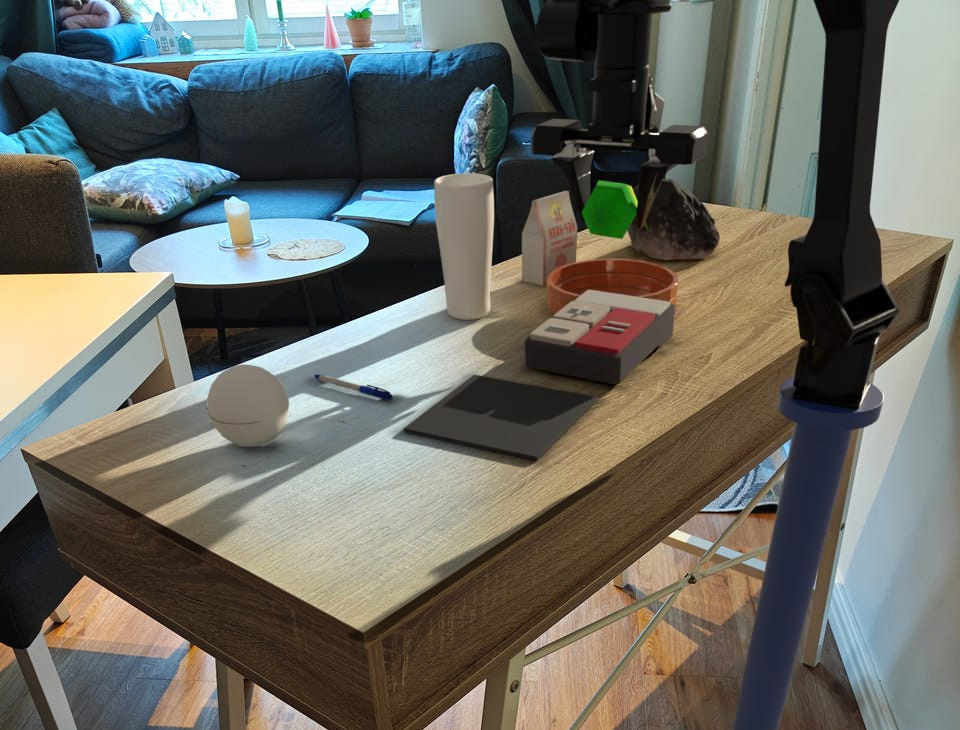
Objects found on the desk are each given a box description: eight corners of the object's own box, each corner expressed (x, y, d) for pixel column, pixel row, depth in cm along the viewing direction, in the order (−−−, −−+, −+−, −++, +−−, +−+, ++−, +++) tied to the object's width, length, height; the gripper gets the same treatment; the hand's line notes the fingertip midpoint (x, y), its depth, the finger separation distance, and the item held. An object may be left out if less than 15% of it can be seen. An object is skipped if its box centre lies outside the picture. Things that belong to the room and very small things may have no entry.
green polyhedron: (599, 172, 96) (639, 155, 101) (560, 208, 101) (601, 190, 106) (634, 230, 97) (672, 211, 103) (594, 263, 102) (632, 243, 108)
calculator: (522, 333, 93) (586, 283, 102) (523, 372, 95) (585, 320, 105) (619, 350, 88) (677, 297, 97) (617, 391, 91) (673, 335, 100)
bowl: (691, 295, 112) (695, 266, 110) (648, 337, 101) (651, 306, 99) (577, 281, 118) (578, 253, 116) (525, 318, 107) (525, 289, 105)
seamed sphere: (266, 418, 88) (252, 345, 83) (310, 441, 84) (298, 365, 79) (175, 453, 83) (155, 377, 78) (218, 480, 78) (199, 401, 74)
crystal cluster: (734, 248, 129) (741, 171, 124) (700, 265, 120) (706, 182, 115) (648, 245, 136) (651, 171, 130) (609, 260, 126) (611, 182, 121)
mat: (597, 400, 89) (597, 396, 88) (537, 461, 79) (537, 457, 79) (474, 378, 94) (473, 374, 94) (403, 432, 85) (403, 428, 84)
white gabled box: (522, 280, 119) (521, 199, 113) (554, 268, 123) (556, 188, 116) (543, 285, 117) (544, 203, 111) (575, 273, 121) (578, 192, 114)
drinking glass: (433, 321, 108) (424, 185, 98) (451, 303, 113) (444, 171, 103) (487, 325, 106) (483, 187, 97) (502, 306, 111) (500, 173, 102)
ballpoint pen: (395, 398, 90) (394, 389, 90) (389, 401, 90) (389, 392, 89) (317, 378, 95) (316, 369, 94) (311, 381, 95) (310, 372, 94)
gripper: (731, 57, 95) (712, 215, 105) (571, 54, 102) (567, 202, 112) (699, 71, 87) (682, 240, 97) (528, 67, 95) (528, 224, 105)
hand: (612, 225), depth 103 cm, fingers closed on green polyhedron, 6 cm apart
